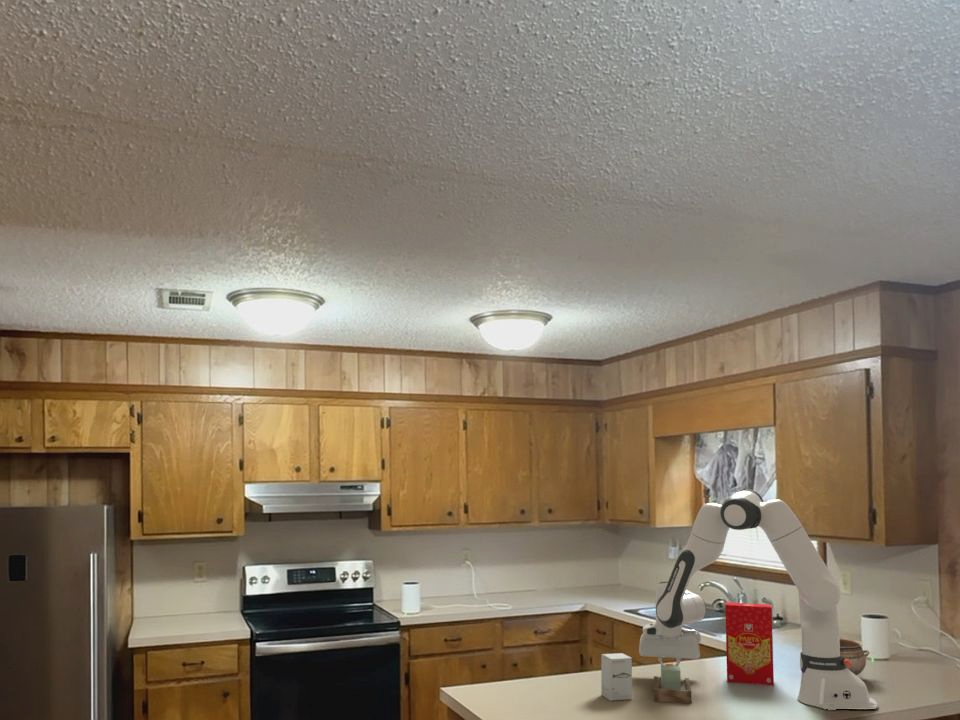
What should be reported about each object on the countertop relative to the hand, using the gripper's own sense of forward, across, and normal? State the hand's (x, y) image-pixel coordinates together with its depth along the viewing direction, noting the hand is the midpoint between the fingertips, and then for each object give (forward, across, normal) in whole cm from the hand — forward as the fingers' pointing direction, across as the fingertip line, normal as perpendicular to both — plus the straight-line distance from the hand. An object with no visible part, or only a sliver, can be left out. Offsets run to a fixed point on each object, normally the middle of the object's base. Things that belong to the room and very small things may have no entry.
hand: (669, 670), depth 300 cm
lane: (+2, 0, +23) cm, 23 cm away
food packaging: (+2, -26, +1) cm, 26 cm away
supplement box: (+2, +17, +29) cm, 34 cm away
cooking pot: (+2, -55, -9) cm, 56 cm away
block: (+2, 0, +8) cm, 8 cm away
